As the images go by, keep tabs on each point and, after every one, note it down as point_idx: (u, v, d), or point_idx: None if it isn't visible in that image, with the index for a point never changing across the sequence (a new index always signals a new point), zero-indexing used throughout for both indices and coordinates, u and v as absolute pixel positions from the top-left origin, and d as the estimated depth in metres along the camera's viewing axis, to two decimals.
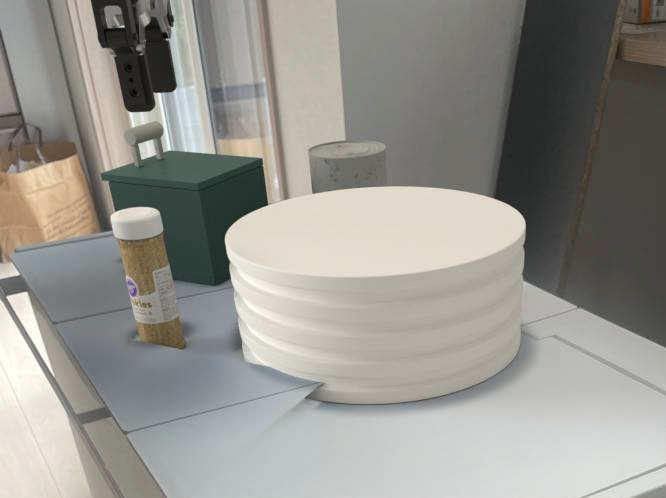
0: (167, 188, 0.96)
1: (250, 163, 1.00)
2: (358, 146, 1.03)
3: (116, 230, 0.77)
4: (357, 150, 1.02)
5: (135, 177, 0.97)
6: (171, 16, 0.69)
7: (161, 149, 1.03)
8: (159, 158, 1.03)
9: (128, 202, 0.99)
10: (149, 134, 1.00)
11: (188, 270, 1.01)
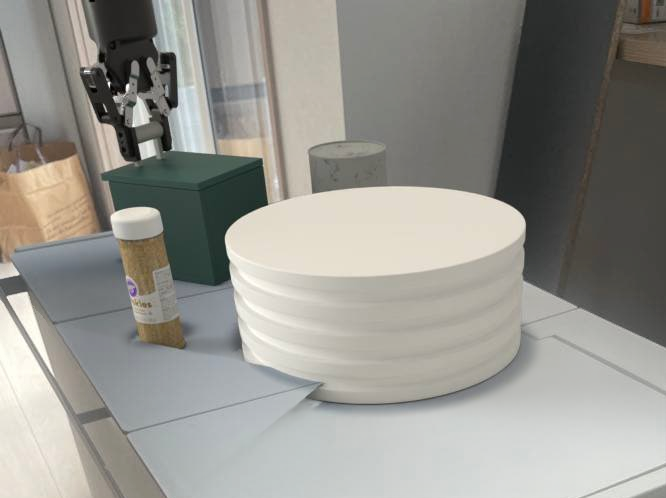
0: (167, 188, 0.96)
1: (250, 163, 1.00)
2: (358, 146, 1.03)
3: (116, 230, 0.77)
4: (357, 150, 1.02)
5: (135, 177, 0.97)
6: (174, 100, 1.02)
7: (161, 149, 1.03)
8: (159, 158, 1.03)
9: (128, 202, 0.99)
10: (149, 134, 1.00)
11: (188, 270, 1.01)
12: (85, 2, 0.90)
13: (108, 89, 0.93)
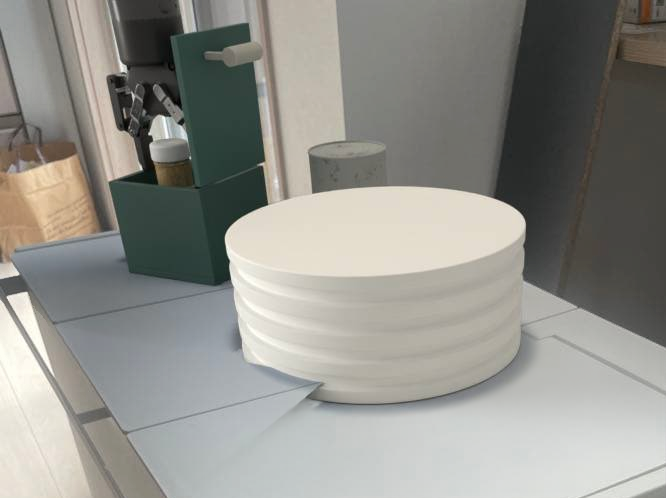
0: (167, 188, 0.96)
1: None
2: (358, 146, 1.03)
3: (154, 155, 0.99)
4: (357, 150, 1.02)
5: (185, 95, 0.88)
6: None
7: None
8: None
9: (128, 202, 0.99)
10: None
11: (188, 270, 1.01)
12: None
13: (116, 98, 0.98)
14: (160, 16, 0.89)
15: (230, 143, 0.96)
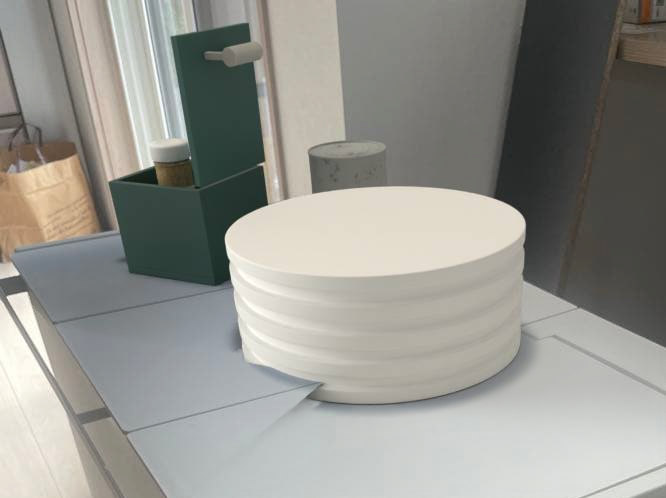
0: (167, 188, 0.96)
1: None
2: (358, 146, 1.03)
3: (154, 155, 0.99)
4: (357, 150, 1.02)
5: (185, 95, 0.88)
6: None
7: None
8: None
9: (128, 202, 0.99)
10: None
11: (188, 270, 1.01)
12: None
13: None
14: None
15: (230, 143, 0.96)
